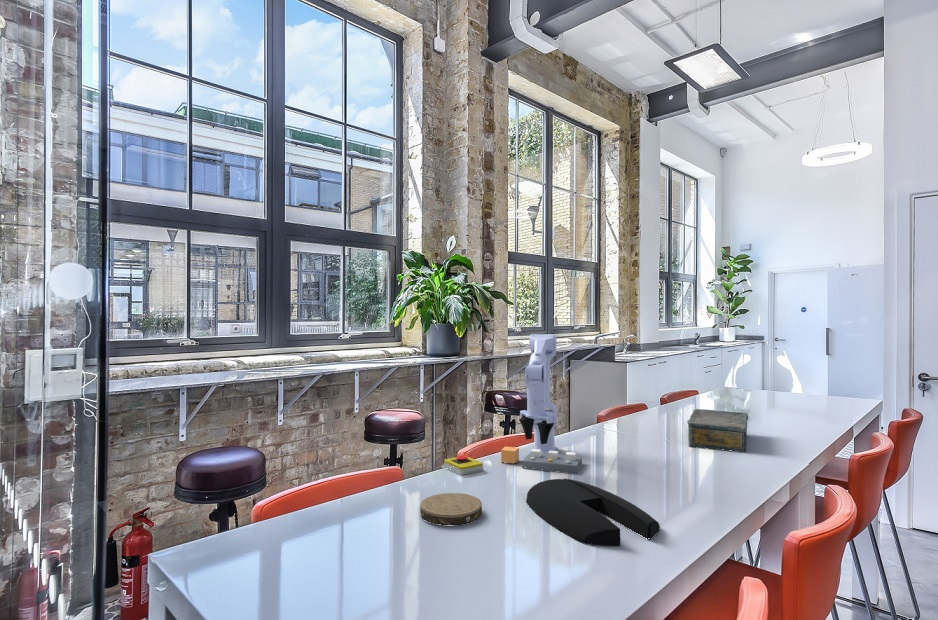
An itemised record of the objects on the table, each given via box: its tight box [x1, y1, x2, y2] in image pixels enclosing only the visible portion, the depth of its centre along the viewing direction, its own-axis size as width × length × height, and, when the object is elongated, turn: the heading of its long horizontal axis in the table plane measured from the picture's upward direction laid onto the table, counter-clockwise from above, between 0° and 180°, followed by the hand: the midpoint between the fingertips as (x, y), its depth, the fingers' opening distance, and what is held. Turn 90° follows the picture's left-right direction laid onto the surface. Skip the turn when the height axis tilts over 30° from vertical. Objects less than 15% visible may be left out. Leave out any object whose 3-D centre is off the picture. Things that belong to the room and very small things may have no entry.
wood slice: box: [419, 492, 483, 526], centre depth 135 cm, size 16×16×3 cm
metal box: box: [687, 408, 750, 453], centre depth 210 cm, size 21×32×10 cm, turn 151°
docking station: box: [525, 478, 661, 547], centre depth 135 cm, size 25×40×5 cm, turn 21°
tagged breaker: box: [548, 450, 559, 460], centre depth 177 cm, size 3×3×3 cm
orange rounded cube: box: [500, 446, 520, 464], centre depth 182 cm, size 5×5×4 cm
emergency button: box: [441, 455, 488, 478], centre depth 173 cm, size 9×4×15 cm
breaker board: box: [521, 448, 583, 474], centre depth 177 cm, size 12×18×4 cm, turn 69°
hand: (536, 441), depth 173 cm, fingers open, 7 cm apart
